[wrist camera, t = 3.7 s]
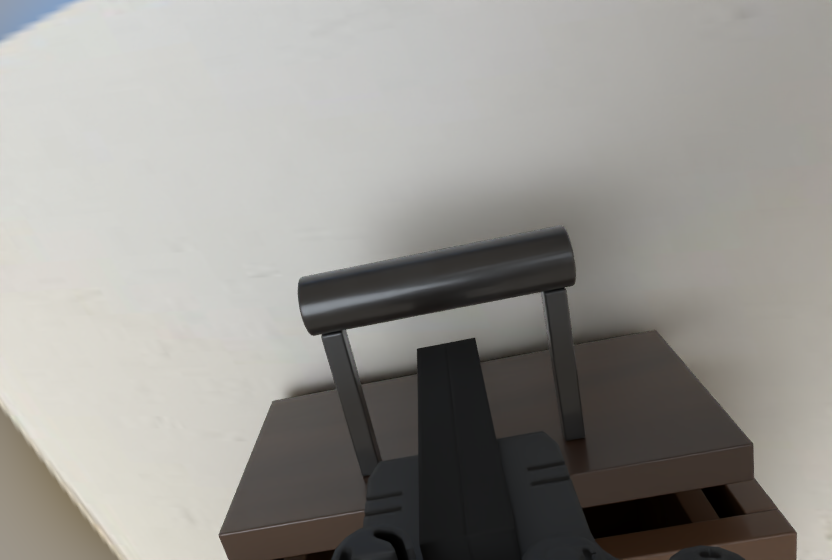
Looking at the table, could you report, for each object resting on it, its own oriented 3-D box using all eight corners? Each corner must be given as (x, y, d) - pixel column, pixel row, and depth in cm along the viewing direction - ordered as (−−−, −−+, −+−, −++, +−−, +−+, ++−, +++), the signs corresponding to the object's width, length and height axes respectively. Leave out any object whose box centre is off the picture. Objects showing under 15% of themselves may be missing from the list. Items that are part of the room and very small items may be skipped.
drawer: (219, 247, 21) (134, 334, 15) (642, 159, 20) (750, 212, 14) (367, 679, 29) (353, 862, 22) (679, 633, 28) (759, 810, 21)
